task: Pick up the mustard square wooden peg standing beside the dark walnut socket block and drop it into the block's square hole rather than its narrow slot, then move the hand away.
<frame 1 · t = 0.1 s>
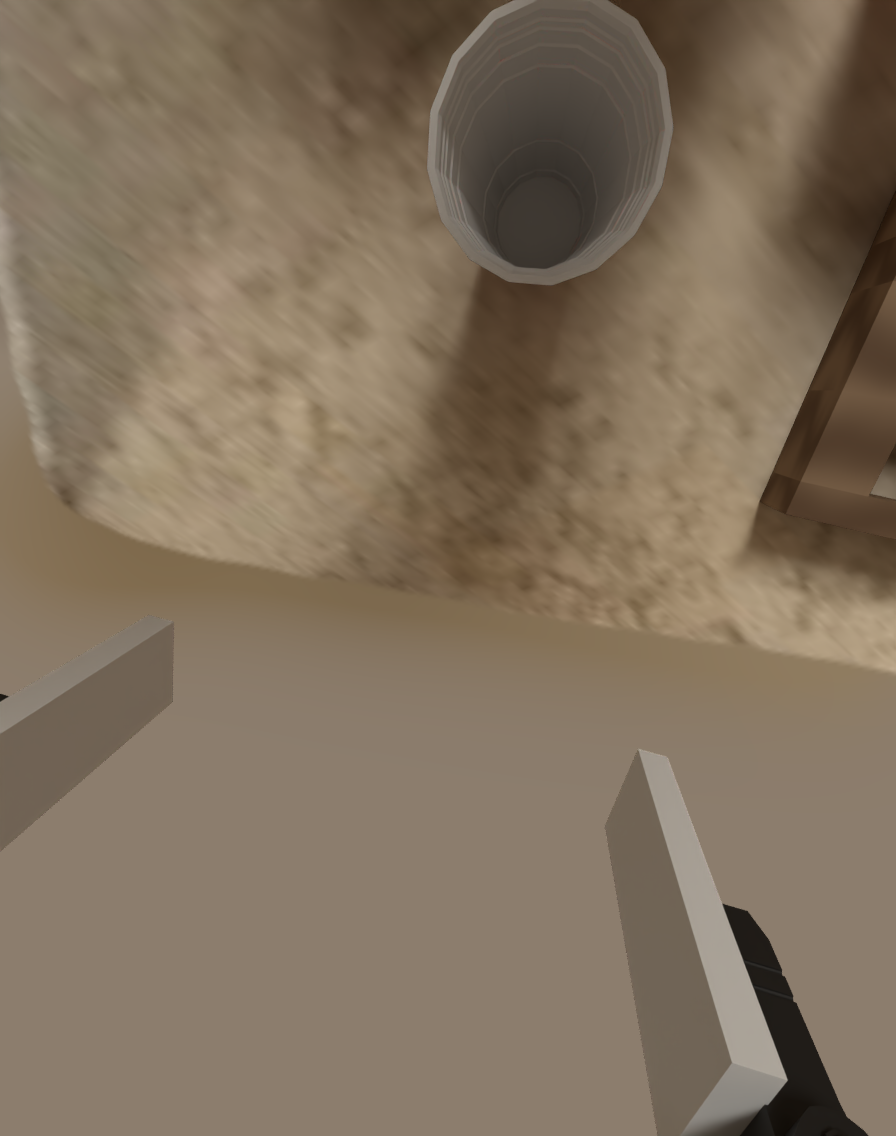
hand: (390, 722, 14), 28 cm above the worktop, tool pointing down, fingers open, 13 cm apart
plastic cup: (541, 228, 34), on the worktop
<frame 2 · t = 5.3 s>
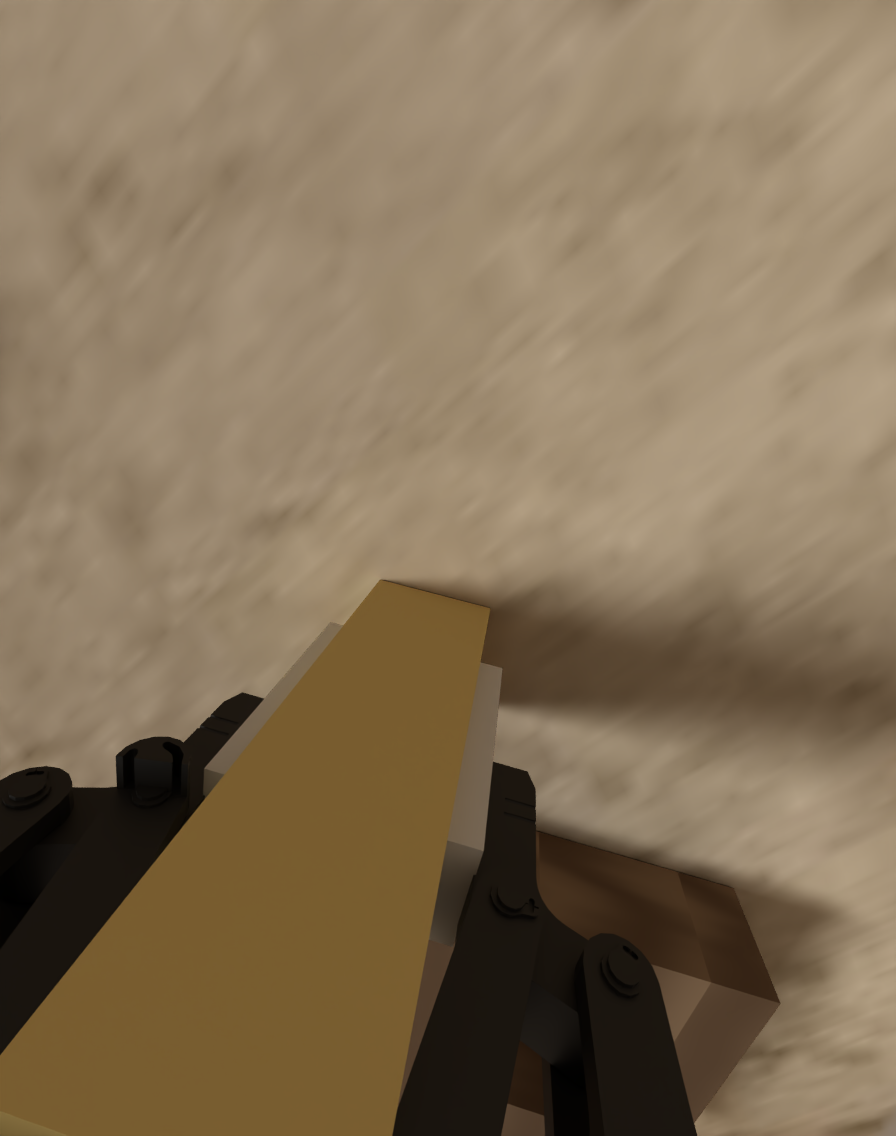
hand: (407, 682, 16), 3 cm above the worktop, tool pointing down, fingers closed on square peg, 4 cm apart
socket block: (450, 929, 23), on the worktop
square peg: (424, 643, 18), on the worktop, touching gripper
when the fingers open (6 cm above the worktop, at t = 11.0 s): square peg drops 3 cm, resting in socket block.
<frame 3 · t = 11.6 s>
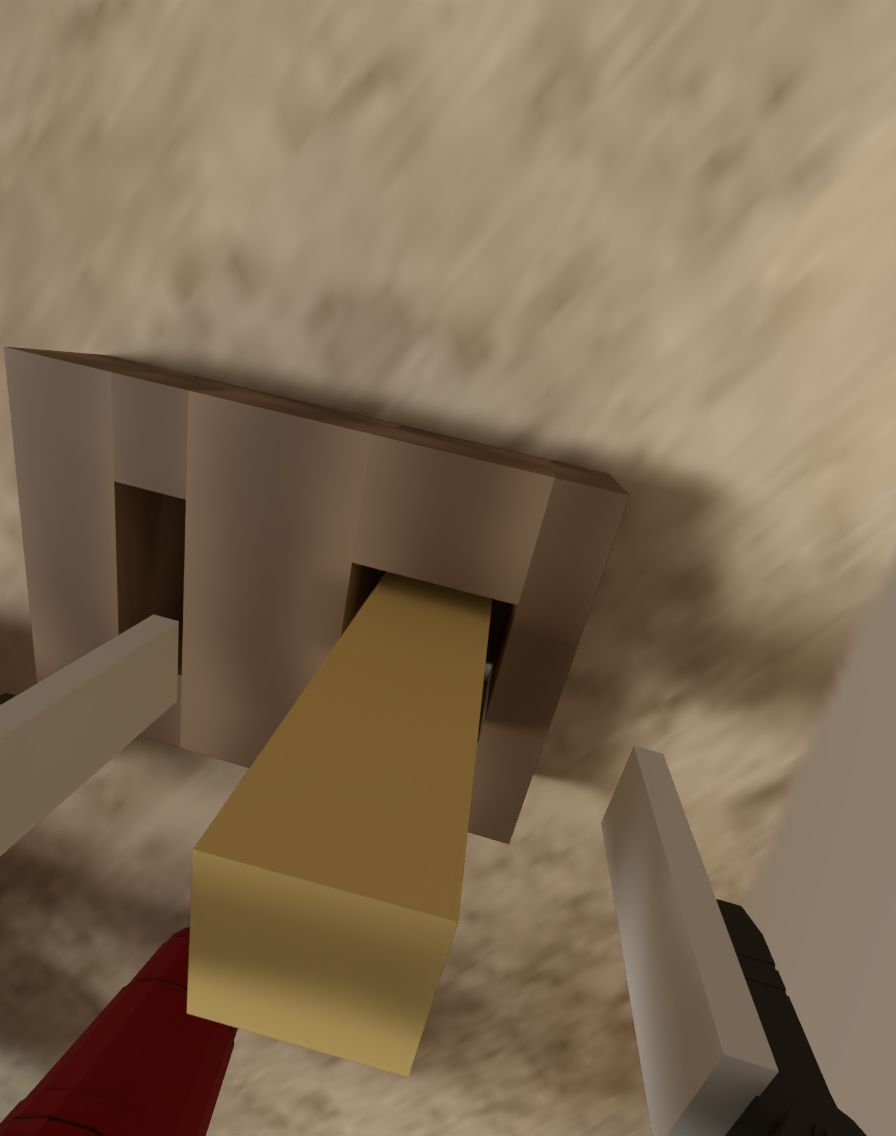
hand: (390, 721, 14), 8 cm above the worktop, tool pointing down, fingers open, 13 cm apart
socket block: (324, 580, 22), on the worktop
square peg: (436, 609, 21), resting in socket block
plastic cup: (213, 953, 32), on the worktop
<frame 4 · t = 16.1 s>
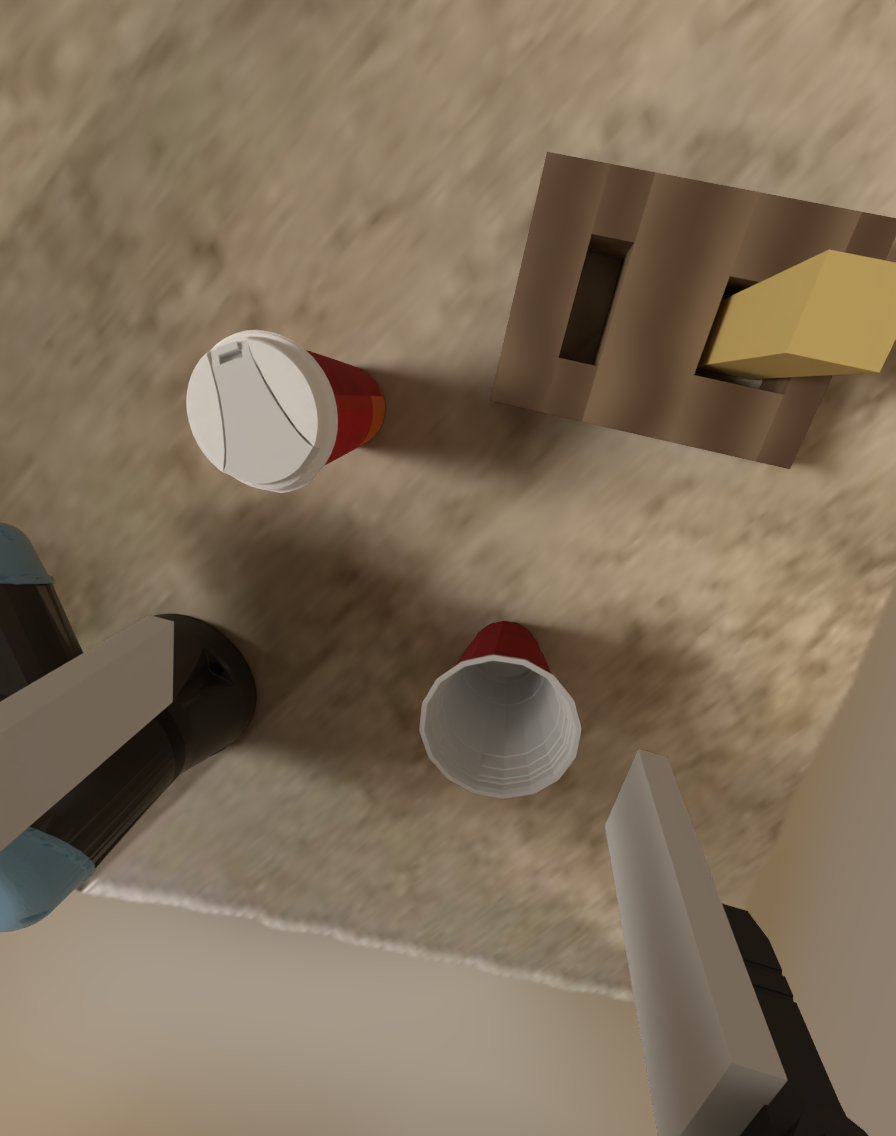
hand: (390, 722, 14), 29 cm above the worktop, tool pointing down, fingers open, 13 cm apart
coffee cup: (350, 407, 40), on the worktop
socket block: (659, 327, 35), on the worktop
square peg: (732, 342, 34), resting in socket block
plastic cup: (506, 646, 45), on the worktop
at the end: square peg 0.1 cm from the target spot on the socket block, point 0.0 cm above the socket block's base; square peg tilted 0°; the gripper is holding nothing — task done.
